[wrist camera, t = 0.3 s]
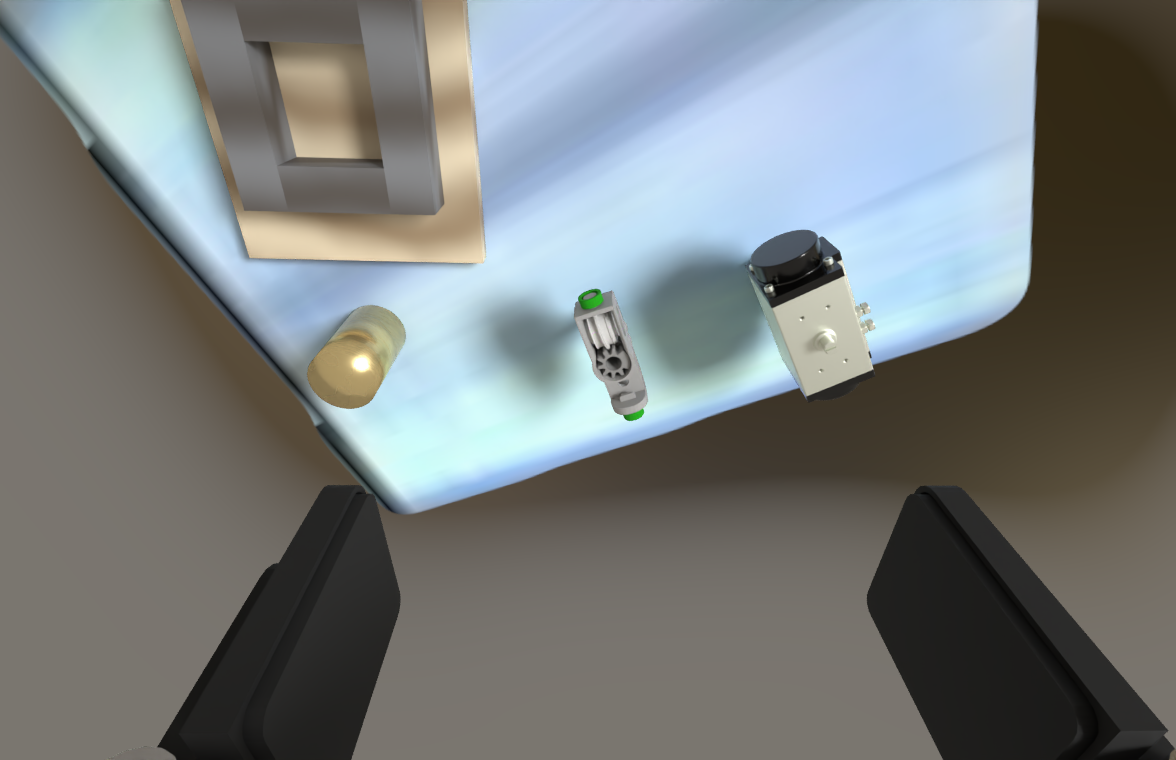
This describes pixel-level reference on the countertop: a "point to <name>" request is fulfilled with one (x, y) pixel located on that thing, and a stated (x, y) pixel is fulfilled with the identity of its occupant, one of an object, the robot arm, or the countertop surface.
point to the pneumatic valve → (812, 313)
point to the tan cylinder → (357, 357)
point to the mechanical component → (611, 351)
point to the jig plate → (342, 125)
